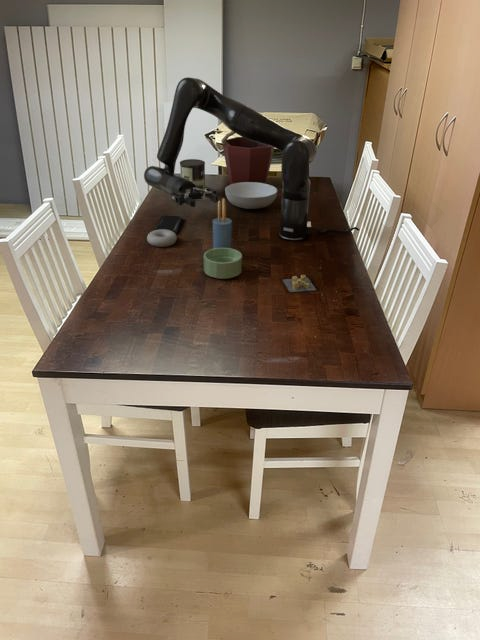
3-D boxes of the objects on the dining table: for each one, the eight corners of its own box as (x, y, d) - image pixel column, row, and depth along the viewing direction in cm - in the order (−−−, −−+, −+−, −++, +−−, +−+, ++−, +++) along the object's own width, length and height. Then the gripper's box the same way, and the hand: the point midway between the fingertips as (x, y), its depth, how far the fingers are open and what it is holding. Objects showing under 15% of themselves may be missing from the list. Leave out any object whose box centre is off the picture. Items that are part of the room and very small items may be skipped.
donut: (143, 247, 171) (171, 249, 170) (142, 237, 170) (171, 239, 168) (153, 236, 180) (180, 238, 178) (152, 226, 178) (180, 228, 176)
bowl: (243, 264, 161) (243, 248, 158) (239, 281, 151) (240, 264, 149) (206, 262, 162) (206, 246, 159) (201, 279, 152) (201, 262, 149)
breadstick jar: (232, 253, 169) (233, 196, 159) (230, 260, 163) (231, 202, 154) (214, 252, 169) (213, 195, 159) (211, 259, 164) (211, 201, 154)
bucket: (273, 178, 242) (276, 122, 229) (277, 193, 224) (281, 132, 211) (221, 177, 242) (221, 121, 229) (221, 192, 223) (221, 131, 210)
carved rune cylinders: (293, 289, 148) (293, 283, 147) (288, 281, 152) (288, 275, 151) (310, 288, 149) (310, 282, 148) (304, 280, 153) (305, 274, 152)
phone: (182, 216, 193) (175, 231, 180) (182, 219, 194) (175, 234, 181) (161, 215, 194) (153, 230, 181) (162, 218, 194) (153, 233, 181)
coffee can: (206, 192, 222) (205, 159, 215) (204, 200, 214) (204, 165, 206) (182, 191, 222) (181, 158, 215) (179, 199, 214) (178, 165, 206)
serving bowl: (285, 203, 212) (286, 187, 208) (259, 218, 196) (260, 200, 193) (242, 194, 221) (243, 178, 217) (214, 207, 206) (214, 190, 202)
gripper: (161, 181, 171) (186, 193, 160) (198, 174, 178) (224, 186, 167) (163, 203, 175) (187, 217, 164) (199, 196, 182) (224, 209, 171)
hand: (205, 201), depth 165 cm, fingers open, 8 cm apart
